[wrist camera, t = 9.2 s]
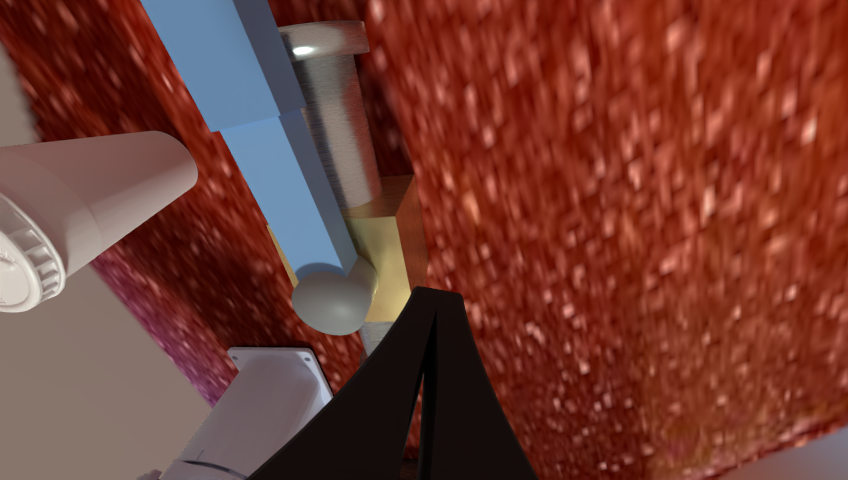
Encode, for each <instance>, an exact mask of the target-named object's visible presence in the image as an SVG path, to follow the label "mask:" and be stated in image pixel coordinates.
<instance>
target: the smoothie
mask: <svg viewBox="0 0 848 480" xmlns="http://www.w3.org/2000/svg"><path fill="white" fill-rule="evenodd" d="M197 178H198V171H197V166H196V163H195V161H194V159H193V157H192V155H191V154H190V152H189V151H188V150H187V149H186V147H185V146H184V145H183V144H182V143H181V142H179V141H178V140H177V139H175V138H174V137H172V136H170V135H169V134H166V133H164V132H160V131H145V132H136V133H126V134H117V135H108V136H99V137H89V138H80V139H71V140H61V141H52V142H43V143H34V144H24V145H15V146H7V147H0V311H2V312H22V311H26V310H29V309H31V308H33V307H35V306H36V305H38V304H40V303H41V302H43V301H45V300H46V299H48V298H51V297H54V296H57V295H58V294H59V293H60V292H61V291H62V289H63V288H64V287H65V283H66V278H67V277H68V276H70V275H71V274H73V273H74V272H76V271H77V270H78V269H80V268H81V267H83V266H84V265H86V264H87V263H89V262H90V261H91V260H93V259H94V258H95V257H97V256H98V255H99V254H101V253H102V252H103V251H105V250H106V249H107V248H109V247H110V246H112V245H113V244H114V243H116V242H117V241H119V240H120V239H121V238H123V237H124V236H125V235H127V234H128V233H130V232H131V231H132V230H134V229H135V228H136V227H138V226H139V225H141V224H142V223H143V222H145V221H146V220H148V219H149V218H150V217H152V216H153V215H154V214H156V213H157V212H159V211H160V210H161V209H163V208H164V207H166V206H167V205H168V204H170V203H171V202H172V201H174V200H175V199H177V198H178V197H179V196H181V195H182V194H183V193H185V192H186V191H188V190H189V189H190V188H192V187H193V186H194V185H195V183H196V181H197Z"/></svg>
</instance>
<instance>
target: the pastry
mask: <svg viewBox="0 0 848 480" xmlns="http://www.w3.org/2000/svg"><path fill="white" fill-rule="evenodd" d="M417 469H418V461H417V460H409V459H403V460H402V466H401V471H400V477H399V480H416V479H417Z"/></svg>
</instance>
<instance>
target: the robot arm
mask: <svg viewBox="0 0 848 480" xmlns="http://www.w3.org/2000/svg"><path fill="white" fill-rule="evenodd" d="M227 353H228V355H229V356H230V358H231V359H232V361H233V362H234V364H235V365H236V367H237V368H238V370H239V371H240V372H239V373H238V374H237V376H236V377H235V379H234V380H233V381H232V383H231V384H230V386H229V387H228V388H227V390H226V391H225V393H224V394H223V395H222V397H221V398H220V399H219V401H218V402H217V404H216V405H215V406H214V408H213V409H212V411H211V412H210V413H209V415H208V416H207V418H206V419H205V420H204V422H203V423H202V425H201V426H200V427H199V429H198V430H197V432H196V433H195V434H194V436H193V437H192V438H191V440H190V441H189V443H188V444H187V445H186V447H185V448H184V450H183V451H182V452H181V454H180V455H179V457H178V458H177V459H176V460H174V461H173V463H172V464H171V465H170V467H169V468H168V469H167V471H166V472H165V474H164V475H163V476H162V478H161V479H160V480H399V477H400V471H401V466H402V460H403V455H404V450H405V446H406V442H407V438H408V434H409V430H410V426H411V422H412V418H413V414H414V410H415V406H416V402H417V398H418V394H419V390H420V386H421V382H422V378H423V374H424V380H423V396H422V412H421V428H420V444H419V459H418V469H417V479H416V480H539V478H538V477H537V475H536V473H535V471H534V469H533V468H532V466H531V464H530V462H529V460H528V458H527V457H526V455H525V453H524V451H523V449H522V447H521V446H520V444H519V442H518V440H517V438H516V436H515V434H514V432H513V430H512V428H511V426H510V424H509V422H508V420H507V418H506V416H505V414H504V412H503V410H502V408H501V405H500V403H499V401H498V399H497V397H496V394H495V392H494V390H493V387H492V385H491V383H490V381H489V378H488V376H487V373H486V371H485V368H484V366H483V363H482V360H481V358H480V355H479V352H478V350H477V347H476V344H475V341H474V338H473V335H472V332H471V329H470V325H469V322H468V318H467V315H466V310H465V306H464V301H463V297H462V295H461V294H460V293H455V292H449V291H444V290H438V289H433V288H427V287H422V286H416V287H415V288H413V290H412V293H411V295H410V297H409V299H408V301H407V303H406V304H405V306H404V308H403V310H402V311H401V313H400V314H399V316H398V318H397V319H396V321H395V322H394V323H393V325H392V326H391V328H390V329H389V331H388V332H387V333H386V335H385V336H384V338H383V339H382V340H381V342H380V343H379V344H378V346H377V347H376V348H375V349H374V351H373V352H372V353H371V354H370V356H369V357H368V358H367V359H366V361H365V362H364V363H363V364H362V366H361V367H360V368H359V369H358V370H357V371H356V373H355V374H354V375H353V376H352V377H351V378H350V380H349V381H348V382H347V383H346V384H345V385H344V386H343V387H342V388H341V389H340V390H339V392H338V393H337V394H336V395H335V396H334V397H333V395H332V392H331V390H330V388H329V386H328V384H327V382H326V379H325V377H324V375H323V373H322V371H321V369H320V367H319V364H318V362H317V360H316V358H315V356H314V354H313V352H312V350H310V349H308V348H265V347H231V348H230V349H229V350H228V351H227ZM161 473H162V472H161V471H158V470H156V469H154V470H152V471H151V472H149V474H148V473H146V474H144V475H141V476H139V477H137V478H136V479H135V480H159V479H158V477H159V476H160V475H161Z"/></svg>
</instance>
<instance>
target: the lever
mask: <svg viewBox="0 0 848 480" xmlns="http://www.w3.org/2000/svg"><path fill="white" fill-rule="evenodd" d="M140 1H141V3H142V5H143V6H144V8H145V10H146V12H147V14H148V16H149V18H150V19H151V21H152V23H153V25H154V27H155V29H156V31H157V32H158V34H159V36H160V38H161V40H162V42H163V44H164V46H165V47H166V49H167V51H168V53H169V55H170V57H171V59H172V60H173V62H174V64H175V66H176V68H177V70H178V72H179V73H180V75H181V77H182V79H183V81H184V83H185V85H186V86H187V88H188V90H189V92H190V94H191V96H192V98H193V99H194V101H195V103H196V105H197V107H198V109H199V111H200V112H201V114H202V116H203V118H204V120H205V122H206V124H207V125H208V127H209V129H210V131H211V132H214V131H219V130H220V132H221V134H222V136H223V138H224V140H225V142H226V144H227V146H228V147H229V149H230V151H231V153H232V155H233V157H234V159H235V161H236V163H237V165H238V167H239V168H240V170H241V172H242V174H243V176H244V178H245V180H246V182H247V184H248V186H249V188H250V189H251V191H252V193H253V195H254V197H255V199H256V201H257V203H258V205H259V207H260V209H261V210H262V212H263V214H264V216H265V218H266V220H267V222H268V224H269V226H270V228H271V230H272V232H273V233H274V235H275V237H276V239H277V241H278V243H279V245H280V247H281V249H282V251H283V253H284V254H285V256H286V258H287V260H288V262H289V264H290V266H291V268H292V270H293V272H294V274H295V275H296V277H297V279H298V281H299V283H298V285H297V286H296V287H295V289H294V290H293V293H292V305H293V308H294V310H295V312H296V313H297V315H298V316H299V317H300V318H301V319H302V320H303V321H304V322H305V323H306V324H307V325H309V326H310V327H312V328H314V329H316V330H318V331H320V332H323V333H327V334H331V335H346V334H350V333H353V332H355V331H357V330H358V329H359V328H360V327H361V326H362V325H363V323H364V321H365V318H366V316H367V313H368V311H369V308H370V306H371V303H372V301H373V298H374V296H375V293H376V291H377V288H378V277H377V274H376V271H375V270H374V268H373V267H372V265H371V264H370V263H369V262H368V261H367V260H366V259H364V258H363V257H362V256H360V255H358V254H357V253H356V250H355V248H354V245H353V243H352V240H351V238H350V235H349V232H348V230H347V227H346V225H345V222H344V220H343V217H342V214H341V212H340V209H339V207H338V204H337V202H336V199H335V196H334V194H333V191H332V189H331V186H330V184H329V181H328V178H327V176H326V173H325V171H324V168H323V166H322V163H321V160H320V158H319V155H318V153H317V150H316V148H315V145H314V142H313V140H312V137H311V135H310V132H309V130H308V127H307V124H306V122H305V119H304V117H303V114H302V112H301V109H300V108H303V107H306V106H307V105H306V102H305V99H304V97H303V94H302V91H301V89H300V86H299V83H298V81H297V78H296V75H295V73H294V70H293V67H292V65H291V62H290V59H289V57H288V54H287V52H286V49H285V46H284V44H283V41H282V38H281V36H280V33H279V30H278V28H277V25H276V22H275V20H274V17H273V14H272V12H271V9H270V7H269V4H268V1H267V0H140Z"/></svg>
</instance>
